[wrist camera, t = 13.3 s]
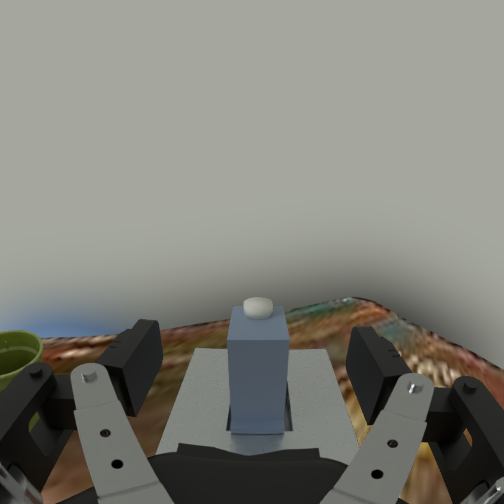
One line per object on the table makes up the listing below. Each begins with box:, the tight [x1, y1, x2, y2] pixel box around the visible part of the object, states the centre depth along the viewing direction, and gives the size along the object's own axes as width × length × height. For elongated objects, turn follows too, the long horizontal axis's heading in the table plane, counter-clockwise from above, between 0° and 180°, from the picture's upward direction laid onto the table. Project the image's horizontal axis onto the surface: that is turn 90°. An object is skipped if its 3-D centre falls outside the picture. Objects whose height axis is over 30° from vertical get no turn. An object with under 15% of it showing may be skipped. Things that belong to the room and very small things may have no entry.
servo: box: [227, 297, 290, 434], centre depth 25 cm, size 10×4×12 cm, turn 179°
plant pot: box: [0, 330, 43, 432], centre depth 20 cm, size 9×9×9 cm
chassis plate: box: [155, 348, 359, 465], centre depth 25 cm, size 20×16×2 cm
